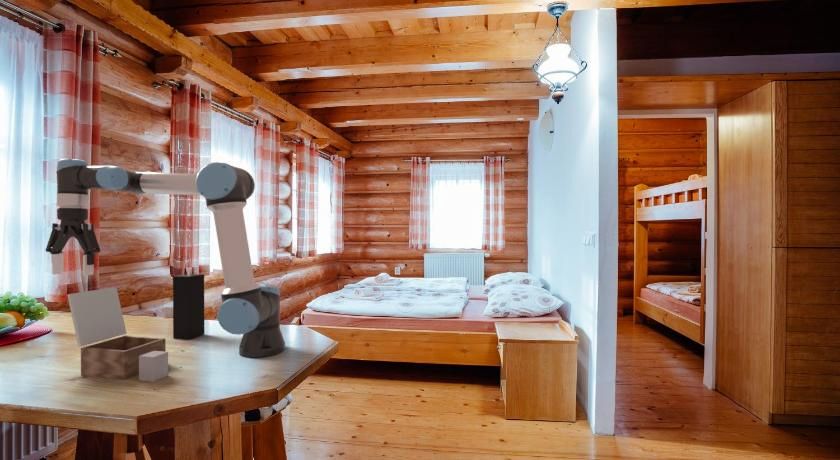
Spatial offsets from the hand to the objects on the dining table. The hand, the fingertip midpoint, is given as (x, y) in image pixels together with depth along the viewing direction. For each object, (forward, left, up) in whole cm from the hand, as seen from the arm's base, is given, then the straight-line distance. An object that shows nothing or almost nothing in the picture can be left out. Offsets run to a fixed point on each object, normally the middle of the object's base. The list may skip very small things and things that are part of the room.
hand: (72, 274), depth 128 cm
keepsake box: (-21, 0, -29) cm, 36 cm away
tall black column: (-12, -35, -29) cm, 47 cm away
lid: (-11, 0, -12) cm, 17 cm away
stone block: (-36, +4, -29) cm, 46 cm away
